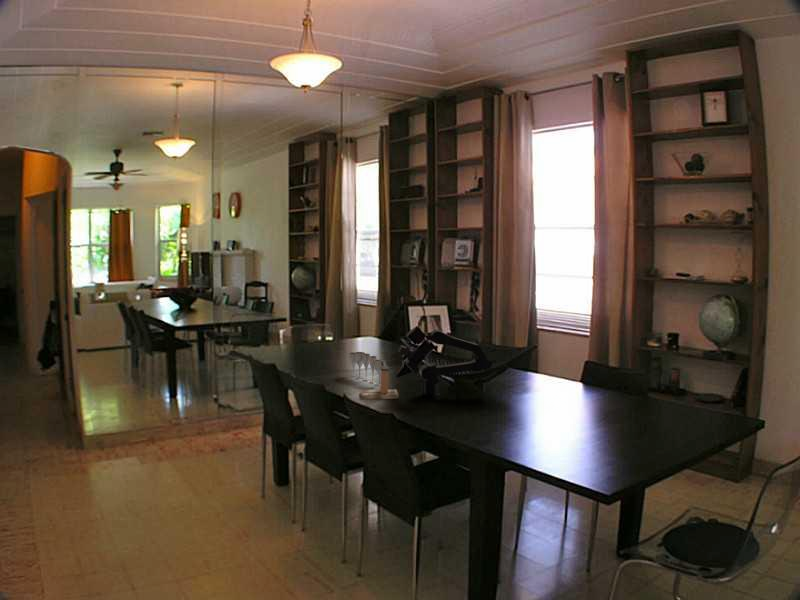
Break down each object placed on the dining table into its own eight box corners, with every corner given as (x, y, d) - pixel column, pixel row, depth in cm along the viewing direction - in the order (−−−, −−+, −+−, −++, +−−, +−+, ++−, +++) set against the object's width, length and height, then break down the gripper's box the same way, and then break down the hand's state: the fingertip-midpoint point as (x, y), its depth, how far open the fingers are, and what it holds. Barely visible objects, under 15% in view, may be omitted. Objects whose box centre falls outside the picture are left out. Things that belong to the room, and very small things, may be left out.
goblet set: (345, 376, 308) (346, 350, 307) (355, 374, 312) (355, 349, 310) (378, 387, 286) (378, 359, 285) (388, 385, 290) (388, 358, 288)
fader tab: (387, 390, 273) (387, 366, 272) (388, 393, 267) (389, 368, 266) (379, 390, 273) (379, 366, 272) (380, 393, 267) (381, 368, 266)
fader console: (396, 392, 276) (396, 389, 276) (398, 398, 266) (398, 394, 266) (360, 393, 274) (360, 389, 274) (362, 398, 264) (362, 395, 264)
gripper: (406, 336, 278) (382, 360, 278) (412, 342, 260) (386, 368, 260) (423, 353, 280) (399, 376, 280) (430, 360, 262) (404, 386, 261)
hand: (396, 376), depth 270 cm, fingers closed
